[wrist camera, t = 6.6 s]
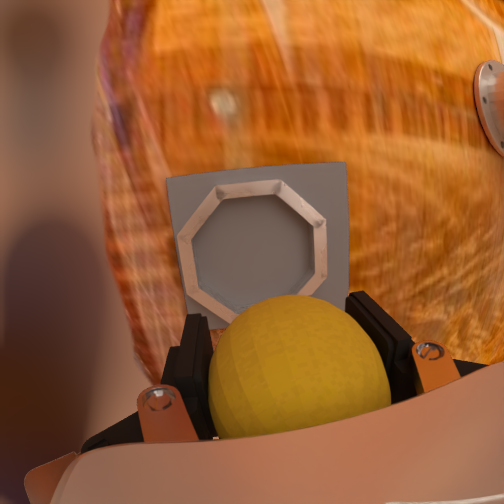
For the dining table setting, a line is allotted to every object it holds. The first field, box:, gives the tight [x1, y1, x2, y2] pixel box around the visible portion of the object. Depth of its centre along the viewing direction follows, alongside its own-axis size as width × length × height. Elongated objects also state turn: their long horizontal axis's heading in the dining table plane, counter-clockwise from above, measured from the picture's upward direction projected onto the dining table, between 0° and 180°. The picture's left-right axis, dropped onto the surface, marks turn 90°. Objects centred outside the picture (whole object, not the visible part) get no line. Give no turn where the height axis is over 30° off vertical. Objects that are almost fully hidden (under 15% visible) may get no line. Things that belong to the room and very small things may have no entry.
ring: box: [177, 179, 327, 324], centre depth 23 cm, size 11×11×2 cm
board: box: [166, 162, 349, 330], centre depth 24 cm, size 14×13×1 cm
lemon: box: [208, 295, 391, 439], centre depth 9 cm, size 6×6×8 cm
